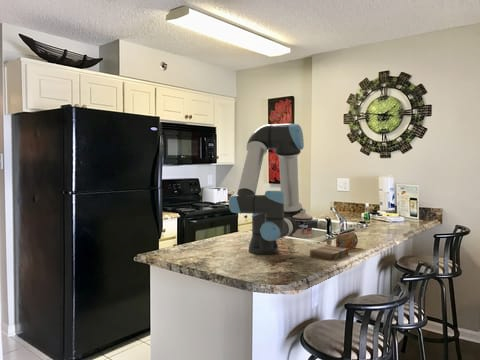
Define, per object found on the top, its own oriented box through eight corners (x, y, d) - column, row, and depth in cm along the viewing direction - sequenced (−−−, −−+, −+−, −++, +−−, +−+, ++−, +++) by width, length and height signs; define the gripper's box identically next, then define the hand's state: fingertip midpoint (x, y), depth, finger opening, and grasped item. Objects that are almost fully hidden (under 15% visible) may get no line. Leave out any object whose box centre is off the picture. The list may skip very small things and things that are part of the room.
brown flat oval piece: (339, 251, 197) (339, 235, 197) (334, 250, 200) (334, 234, 200) (358, 248, 206) (358, 232, 206) (353, 246, 209) (353, 231, 208)
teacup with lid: (304, 239, 170) (304, 212, 170) (287, 236, 177) (288, 210, 176) (320, 235, 178) (320, 210, 178) (304, 233, 185) (304, 208, 185)
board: (332, 260, 178) (332, 254, 178) (309, 256, 186) (310, 250, 186) (348, 254, 190) (348, 248, 190) (326, 250, 198) (326, 244, 198)
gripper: (263, 233, 169) (286, 226, 187) (309, 238, 157) (329, 230, 176) (263, 216, 168) (287, 210, 187) (309, 220, 156) (329, 214, 175)
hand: (307, 220), depth 181 cm, fingers closed on teacup with lid, 9 cm apart
